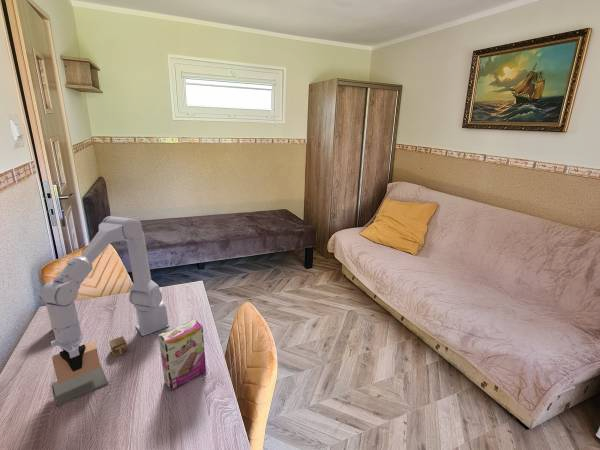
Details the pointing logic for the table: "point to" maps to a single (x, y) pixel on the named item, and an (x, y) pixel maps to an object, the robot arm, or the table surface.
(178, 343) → the candy bar box
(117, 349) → the brown cube
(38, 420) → the table surface
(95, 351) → the block
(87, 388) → the mat
